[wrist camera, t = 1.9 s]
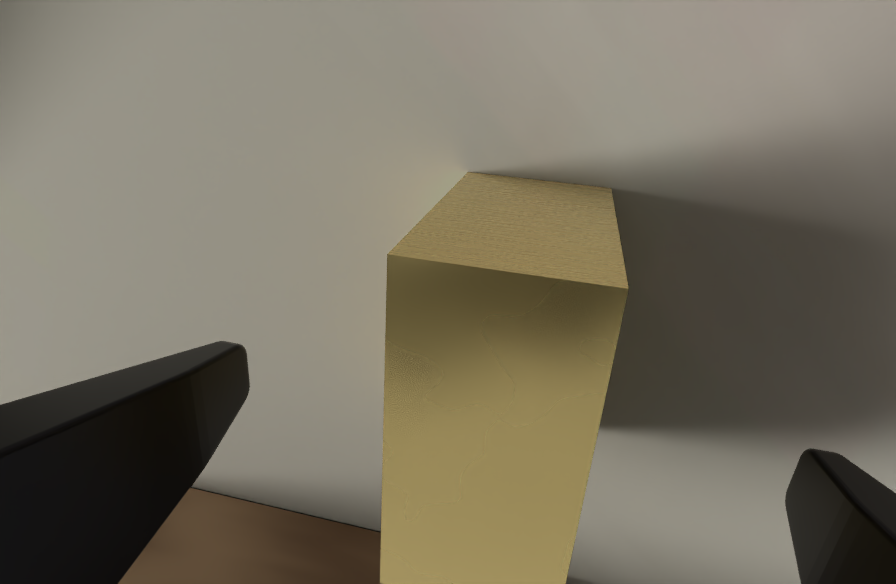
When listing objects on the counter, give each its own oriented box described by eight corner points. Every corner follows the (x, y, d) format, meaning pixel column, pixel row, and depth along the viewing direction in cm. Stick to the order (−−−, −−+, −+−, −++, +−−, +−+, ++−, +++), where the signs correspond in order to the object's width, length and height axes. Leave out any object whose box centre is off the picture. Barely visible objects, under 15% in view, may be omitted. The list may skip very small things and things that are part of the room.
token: (611, 187, 12) (628, 288, 7) (567, 425, 14) (556, 627, 9) (468, 171, 12) (387, 253, 7) (450, 402, 15) (379, 582, 10)
